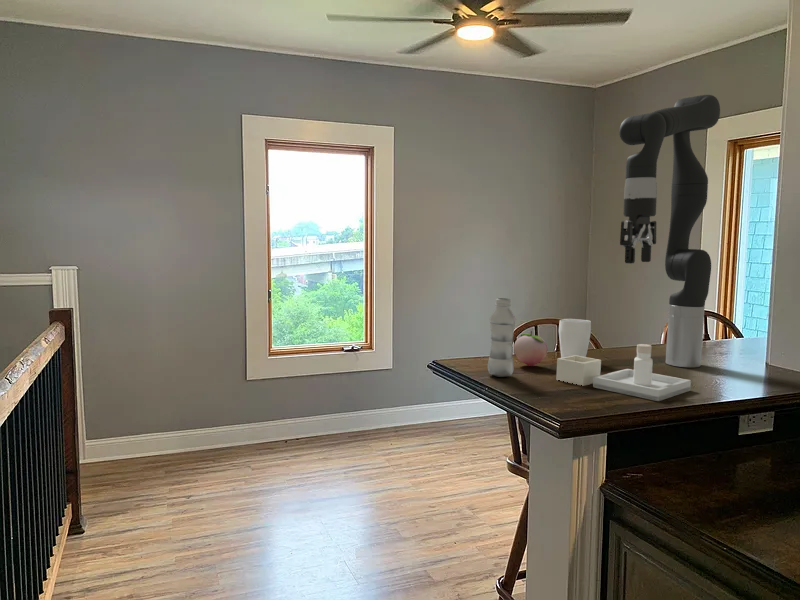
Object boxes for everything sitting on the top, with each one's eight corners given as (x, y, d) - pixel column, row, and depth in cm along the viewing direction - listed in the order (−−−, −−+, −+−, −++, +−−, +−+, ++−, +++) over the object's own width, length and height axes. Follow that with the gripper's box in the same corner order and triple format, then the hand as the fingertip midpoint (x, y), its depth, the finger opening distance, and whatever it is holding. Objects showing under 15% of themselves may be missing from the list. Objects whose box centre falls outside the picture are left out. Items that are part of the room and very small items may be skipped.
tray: (626, 378, 154) (627, 368, 154) (690, 390, 142) (690, 380, 142) (593, 387, 144) (593, 376, 143) (658, 401, 132) (659, 390, 131)
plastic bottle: (491, 372, 158) (494, 297, 156) (516, 375, 155) (519, 298, 153) (483, 377, 152) (486, 298, 150) (509, 380, 149) (512, 300, 147)
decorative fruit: (506, 365, 168) (507, 330, 167) (526, 362, 172) (527, 327, 171) (532, 371, 160) (533, 334, 159) (552, 368, 165) (553, 332, 164)
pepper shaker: (633, 381, 146) (635, 343, 145) (651, 383, 144) (653, 344, 143) (632, 385, 142) (635, 345, 141) (651, 387, 140) (653, 347, 139)
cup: (591, 365, 170) (593, 323, 169) (558, 363, 172) (560, 321, 170) (587, 359, 179) (589, 319, 177) (556, 357, 180) (558, 318, 179)
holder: (573, 376, 155) (574, 355, 155) (599, 381, 150) (601, 359, 149) (556, 380, 150) (557, 358, 150) (583, 385, 145) (584, 363, 144)
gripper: (639, 198, 156) (636, 261, 158) (611, 197, 147) (609, 263, 148) (667, 197, 151) (665, 262, 152) (641, 195, 141) (638, 264, 143)
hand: (637, 262), depth 150 cm, fingers open, 8 cm apart
